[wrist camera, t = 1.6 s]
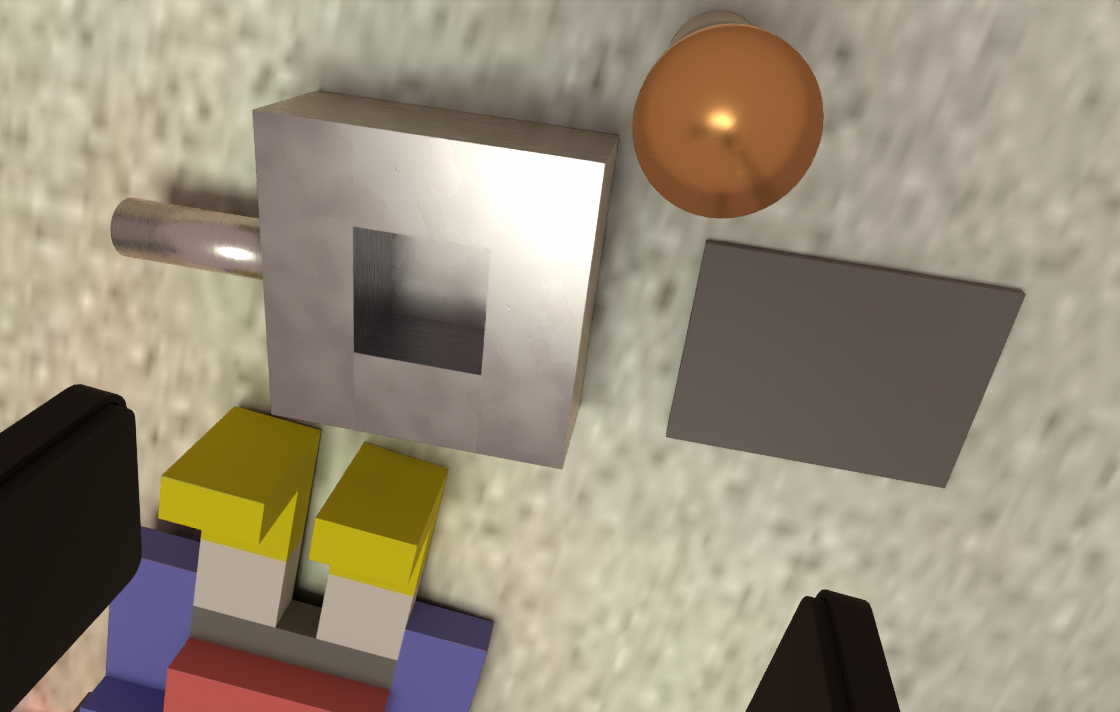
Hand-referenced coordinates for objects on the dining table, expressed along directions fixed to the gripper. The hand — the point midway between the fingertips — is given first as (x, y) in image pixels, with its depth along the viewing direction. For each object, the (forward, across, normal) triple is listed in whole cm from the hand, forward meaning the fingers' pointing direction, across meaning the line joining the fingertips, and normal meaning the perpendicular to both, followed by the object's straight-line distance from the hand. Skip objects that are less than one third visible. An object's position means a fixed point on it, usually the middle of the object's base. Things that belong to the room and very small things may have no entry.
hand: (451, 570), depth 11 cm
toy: (+23, +9, +30) cm, 39 cm away
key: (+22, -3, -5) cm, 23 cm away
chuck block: (+22, +9, +5) cm, 24 cm away
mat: (+22, -11, +5) cm, 25 cm away
